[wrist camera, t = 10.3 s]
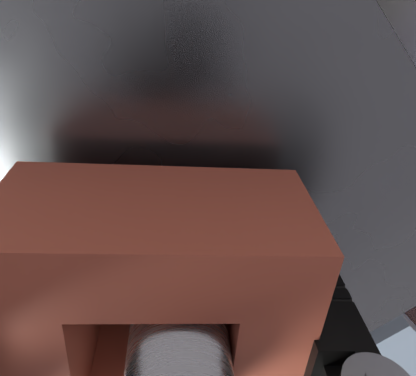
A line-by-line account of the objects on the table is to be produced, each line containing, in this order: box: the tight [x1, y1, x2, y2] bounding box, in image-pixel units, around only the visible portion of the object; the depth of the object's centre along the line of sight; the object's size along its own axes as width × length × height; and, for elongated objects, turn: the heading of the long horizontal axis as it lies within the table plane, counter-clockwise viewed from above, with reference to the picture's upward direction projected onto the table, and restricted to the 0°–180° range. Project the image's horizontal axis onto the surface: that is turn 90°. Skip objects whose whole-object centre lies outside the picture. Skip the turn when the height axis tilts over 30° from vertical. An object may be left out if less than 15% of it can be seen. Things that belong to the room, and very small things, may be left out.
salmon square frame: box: [0, 161, 344, 376], centre depth 9 cm, size 6×6×3 cm
